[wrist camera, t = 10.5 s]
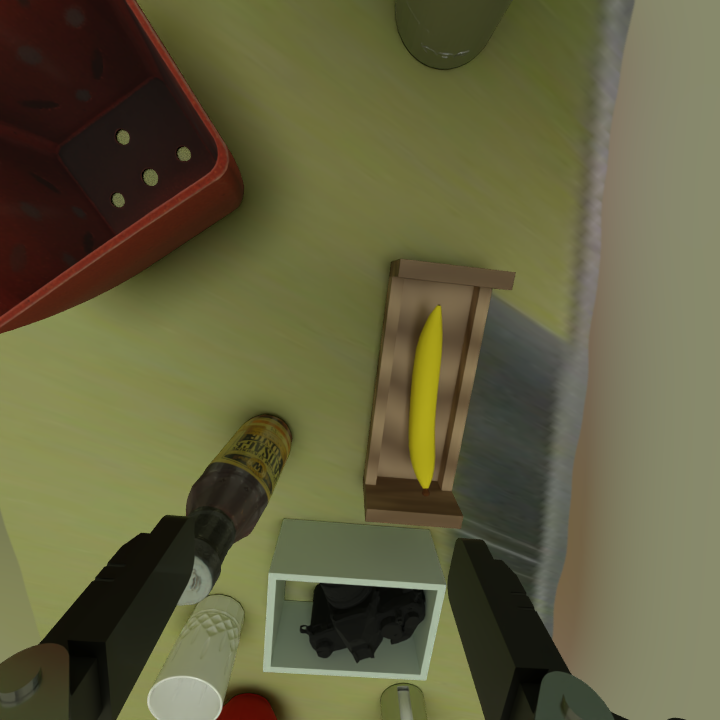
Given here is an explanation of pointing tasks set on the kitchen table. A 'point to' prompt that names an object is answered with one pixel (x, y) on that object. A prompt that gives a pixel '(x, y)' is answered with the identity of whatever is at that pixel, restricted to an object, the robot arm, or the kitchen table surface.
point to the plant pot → (95, 154)
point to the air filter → (403, 703)
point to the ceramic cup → (247, 708)
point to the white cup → (199, 663)
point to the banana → (425, 399)
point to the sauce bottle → (233, 497)
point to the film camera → (362, 617)
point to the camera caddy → (354, 567)
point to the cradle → (458, 366)
